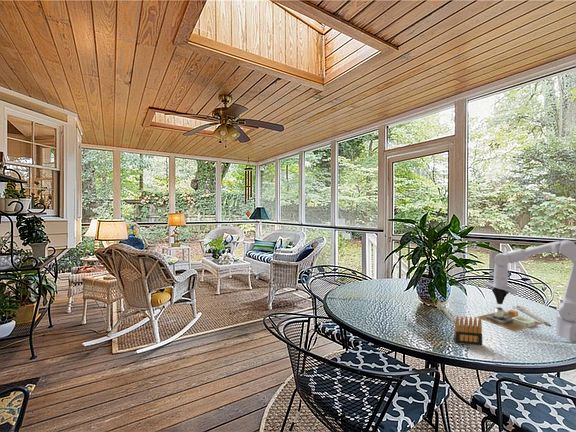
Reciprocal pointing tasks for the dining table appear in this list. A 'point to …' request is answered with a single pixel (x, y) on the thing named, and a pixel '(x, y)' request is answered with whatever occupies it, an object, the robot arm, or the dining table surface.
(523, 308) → the adjustable wrench
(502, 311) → the peg
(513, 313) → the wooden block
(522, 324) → the tray
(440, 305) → the caliper
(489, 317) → the holder
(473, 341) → the ammunition clip
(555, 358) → the dining table surface
